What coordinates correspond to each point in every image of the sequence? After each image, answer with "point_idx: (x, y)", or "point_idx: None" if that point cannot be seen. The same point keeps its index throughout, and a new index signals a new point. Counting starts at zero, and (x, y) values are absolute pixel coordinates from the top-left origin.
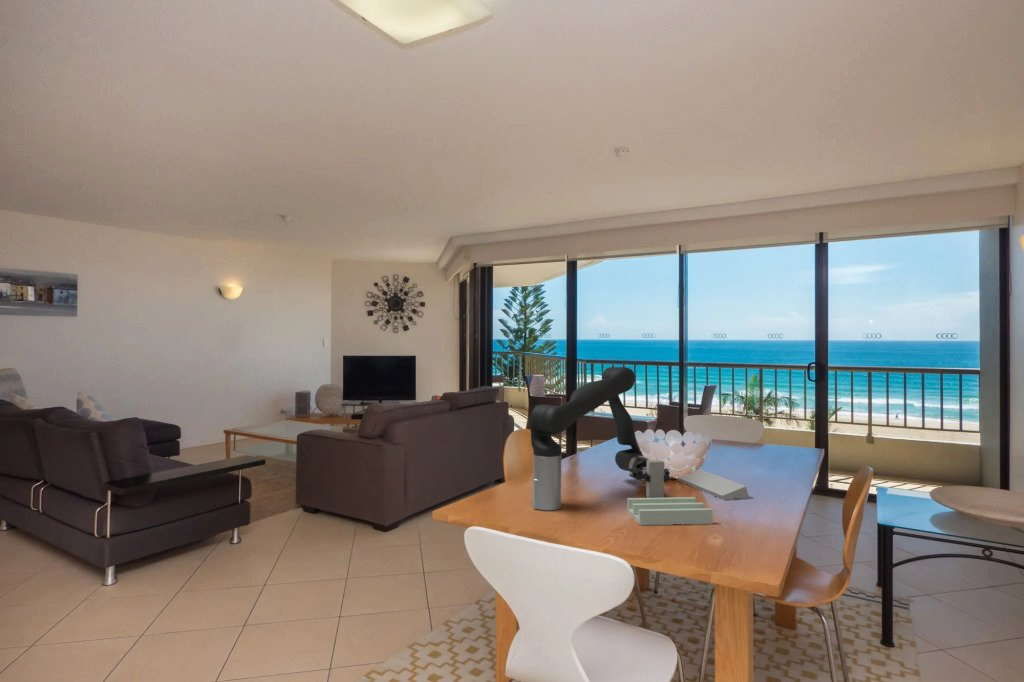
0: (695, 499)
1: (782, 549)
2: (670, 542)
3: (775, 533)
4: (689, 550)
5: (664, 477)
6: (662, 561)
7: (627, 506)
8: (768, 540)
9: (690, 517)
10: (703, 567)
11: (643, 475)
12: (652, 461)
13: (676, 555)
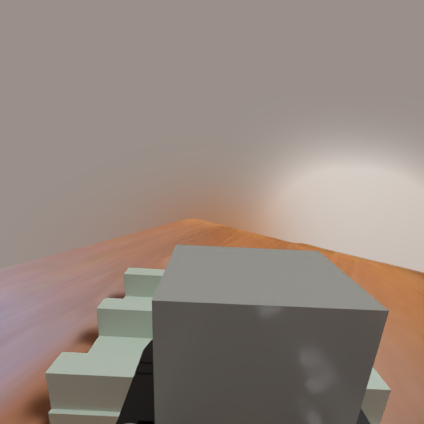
0: (66, 355)
1: (122, 237)
2: None
3: (65, 259)
4: (231, 244)
5: None
6: (265, 236)
7: (378, 415)
8: (109, 248)
9: None
10: (231, 229)
11: (364, 419)
12: (290, 262)
13: (249, 240)
